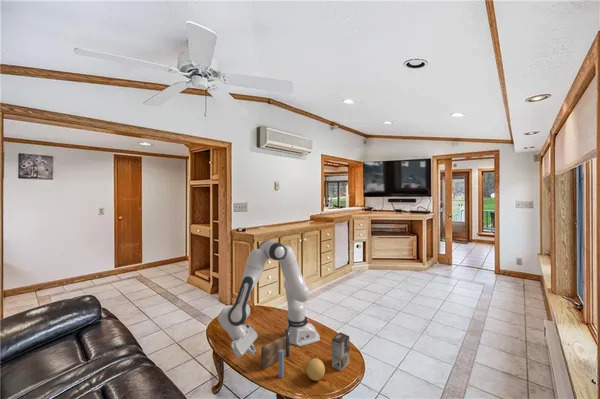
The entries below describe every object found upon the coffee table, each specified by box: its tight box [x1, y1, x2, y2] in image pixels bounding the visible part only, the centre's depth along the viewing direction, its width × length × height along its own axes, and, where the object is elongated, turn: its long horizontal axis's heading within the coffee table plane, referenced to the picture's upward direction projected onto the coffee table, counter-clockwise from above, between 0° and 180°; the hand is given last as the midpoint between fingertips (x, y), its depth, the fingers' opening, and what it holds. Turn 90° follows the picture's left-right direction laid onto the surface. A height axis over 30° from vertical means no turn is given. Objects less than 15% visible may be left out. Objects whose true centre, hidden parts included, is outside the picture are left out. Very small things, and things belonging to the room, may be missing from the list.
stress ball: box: [305, 357, 326, 381], centre depth 143 cm, size 10×10×10 cm
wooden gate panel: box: [260, 335, 286, 370], centre depth 156 cm, size 17×2×11 cm, turn 134°
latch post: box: [278, 349, 285, 379], centre depth 145 cm, size 2×2×14 cm
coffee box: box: [331, 332, 350, 372], centre depth 154 cm, size 9×6×16 cm
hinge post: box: [284, 327, 290, 358], centre depth 163 cm, size 3×3×16 cm
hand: (254, 353), depth 154 cm, fingers closed
